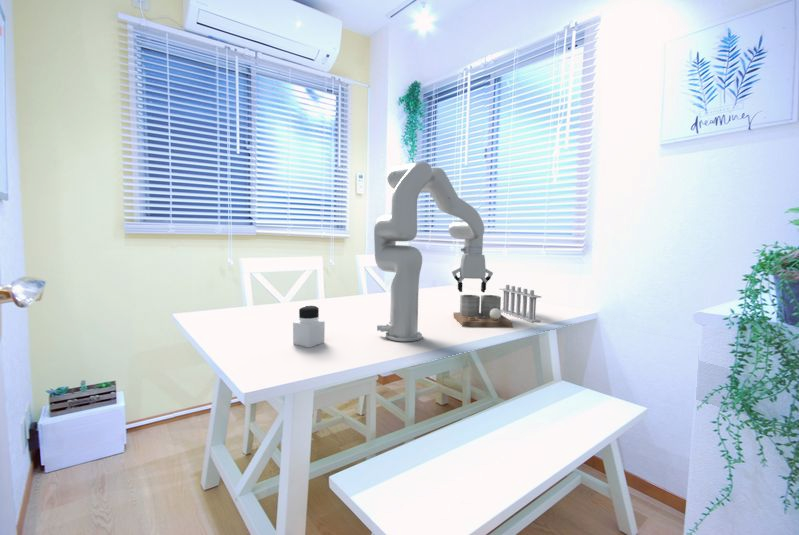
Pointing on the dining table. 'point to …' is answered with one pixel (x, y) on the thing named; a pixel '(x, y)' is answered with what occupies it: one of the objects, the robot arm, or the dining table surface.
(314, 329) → the medicine bottle
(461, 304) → the stand
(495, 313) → the ball cream
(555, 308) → the dining table surface
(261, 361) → the dining table surface
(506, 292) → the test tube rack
